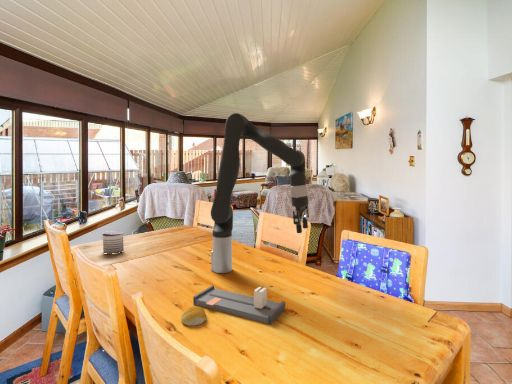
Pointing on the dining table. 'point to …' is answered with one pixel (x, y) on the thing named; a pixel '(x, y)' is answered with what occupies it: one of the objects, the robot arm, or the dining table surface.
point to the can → (113, 242)
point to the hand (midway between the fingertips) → (302, 230)
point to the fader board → (238, 305)
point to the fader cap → (260, 297)
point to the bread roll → (193, 316)
